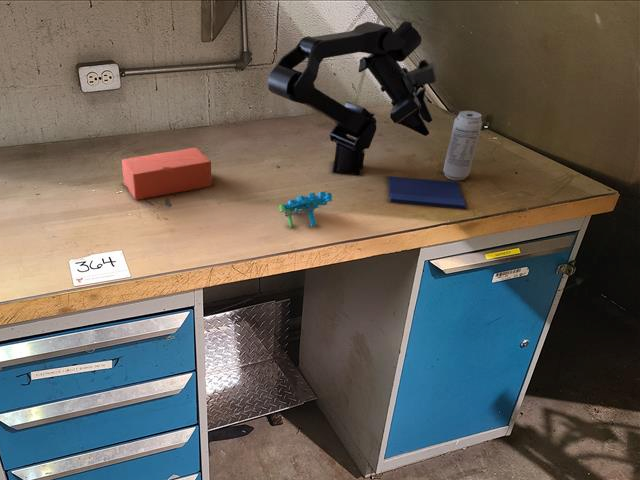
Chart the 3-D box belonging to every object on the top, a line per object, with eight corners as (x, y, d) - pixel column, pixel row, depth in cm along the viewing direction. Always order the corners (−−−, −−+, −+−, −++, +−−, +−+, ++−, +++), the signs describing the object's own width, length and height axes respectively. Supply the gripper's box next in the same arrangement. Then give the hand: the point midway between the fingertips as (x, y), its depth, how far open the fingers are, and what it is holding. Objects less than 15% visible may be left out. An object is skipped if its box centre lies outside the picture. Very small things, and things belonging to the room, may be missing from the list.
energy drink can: (470, 174, 145) (487, 112, 136) (464, 183, 141) (481, 120, 132) (445, 168, 148) (460, 108, 139) (439, 177, 143) (453, 115, 135)
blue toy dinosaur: (326, 200, 128) (335, 185, 118) (332, 227, 127) (342, 213, 118) (275, 210, 127) (281, 195, 117) (281, 237, 127) (287, 224, 117)
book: (390, 202, 132) (390, 198, 132) (388, 177, 143) (389, 174, 142) (465, 209, 130) (466, 205, 130) (457, 183, 141) (458, 180, 140)
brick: (196, 171, 143) (196, 147, 140) (211, 186, 137) (211, 161, 133) (123, 183, 137) (121, 158, 133) (135, 200, 130) (133, 174, 127)
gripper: (415, 61, 125) (458, 120, 128) (423, 40, 139) (461, 94, 143) (372, 94, 131) (414, 150, 135) (383, 72, 146) (421, 122, 149)
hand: (429, 127), depth 140 cm, fingers open, 9 cm apart
